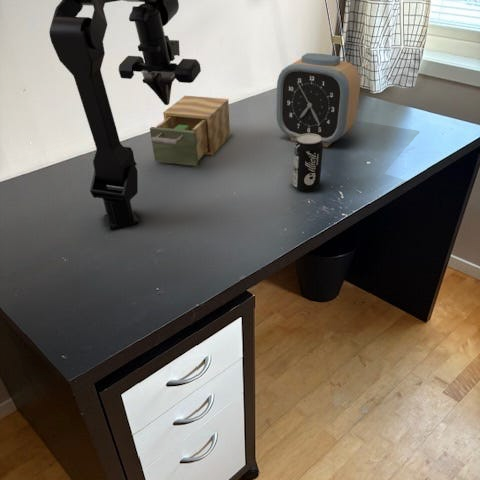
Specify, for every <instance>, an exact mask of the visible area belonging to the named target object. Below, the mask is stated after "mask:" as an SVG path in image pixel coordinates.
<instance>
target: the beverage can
mask: <svg viewBox="0 0 480 480" xmlns="http://www.w3.org/2000/svg"><path fill="white" fill-rule="evenodd" d="M321 140H322V138H321V136H319V135H317V134H312V133H306V134H301V135H299V136H297V141H294V146H293V167H292V186H293V187H294V188H295V189H296V190H297V191H300V192H304V193H308V192H313V191H316V190H317V189H318V188H319V187H320V183H321V175H322V165H323V164H322V162H323V151H324V147H323V143H322V141H321Z"/></svg>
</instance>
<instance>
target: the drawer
mask: <svg viewBox="0 0 480 480" xmlns="http://www.w3.org/2000/svg"><path fill="white" fill-rule="evenodd" d="M178 125H188V126H189V130H179V129H174V128H175V127H177V126H178ZM149 132H150V133H149V134H150V138H151V139H150V141H151V145H152V152H153V158H154V161H155V162H158V163H159V162H160V163H166V164H167V163H168V164H176V165H185V166H191V167H192V166H193V167H194V166H195V167H198V166H199V160H200V159H202V157H203V156H205V153H206V152H207V151H208V150H209V139H208V126H207V119H200V118H189V117H178V116H169V117H167V118H166V119H165V120H164V119H163V120H162V121H161V122H159V123H158V124H157V125H156V126H150V128H149Z"/></svg>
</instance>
